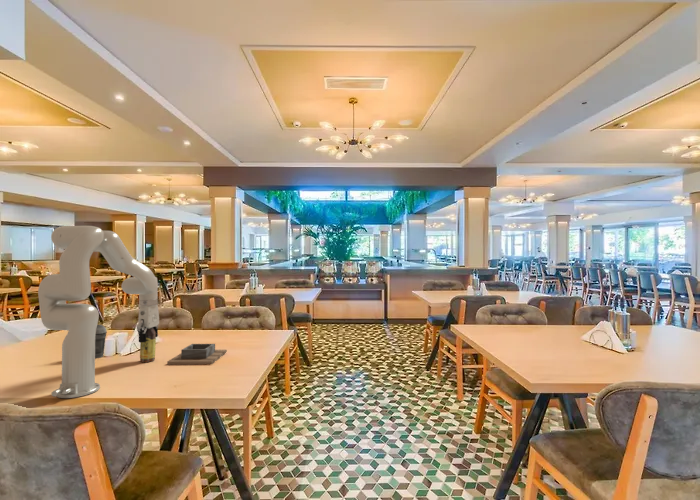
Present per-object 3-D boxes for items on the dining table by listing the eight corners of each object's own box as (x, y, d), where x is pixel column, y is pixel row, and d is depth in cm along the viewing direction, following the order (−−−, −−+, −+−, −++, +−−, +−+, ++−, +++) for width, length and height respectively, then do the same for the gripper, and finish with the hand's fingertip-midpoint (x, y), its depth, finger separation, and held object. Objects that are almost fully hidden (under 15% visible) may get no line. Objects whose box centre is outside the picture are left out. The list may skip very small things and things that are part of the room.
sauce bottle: (136, 361, 166) (137, 318, 166) (149, 358, 171) (150, 316, 172) (145, 363, 163) (146, 319, 163) (158, 360, 168) (158, 317, 169)
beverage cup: (97, 359, 169) (97, 317, 170) (84, 358, 171) (84, 316, 171) (110, 355, 177) (110, 314, 177) (98, 354, 178) (98, 314, 178)
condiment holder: (212, 364, 161) (212, 352, 162) (167, 364, 161) (167, 352, 161) (226, 352, 181) (226, 341, 182) (186, 352, 181) (187, 341, 181)
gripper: (146, 305, 159) (146, 344, 159) (165, 300, 176) (165, 335, 176) (129, 305, 159) (129, 344, 159) (150, 300, 176) (150, 335, 176)
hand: (148, 339), depth 168 cm, fingers open, 9 cm apart
